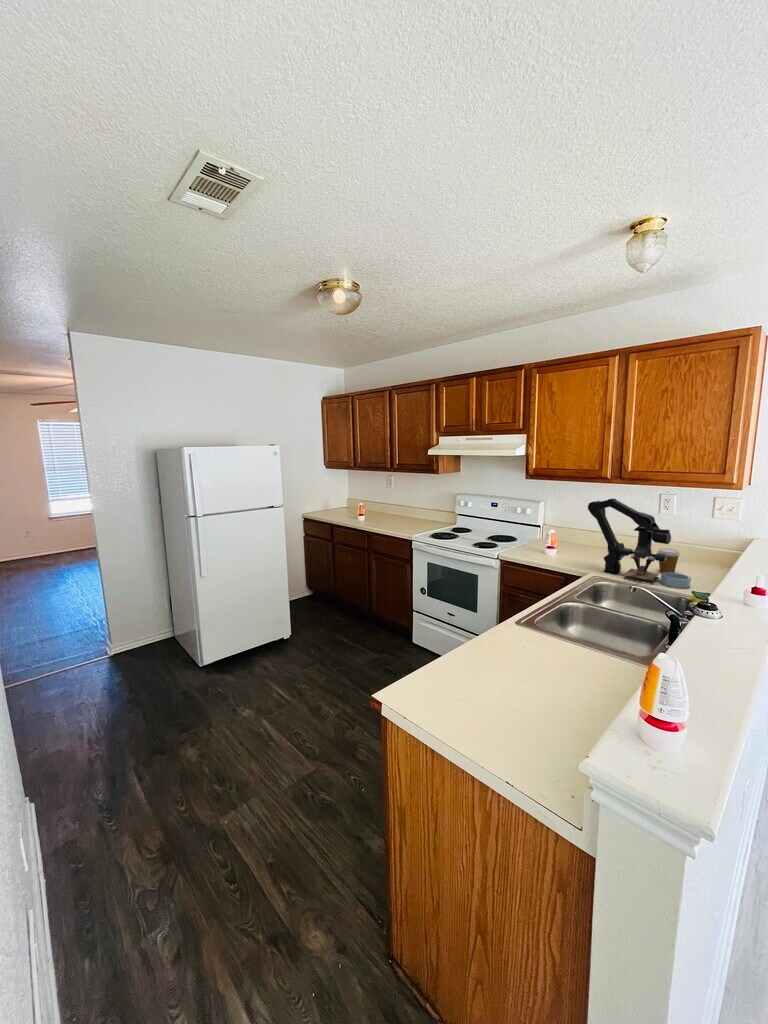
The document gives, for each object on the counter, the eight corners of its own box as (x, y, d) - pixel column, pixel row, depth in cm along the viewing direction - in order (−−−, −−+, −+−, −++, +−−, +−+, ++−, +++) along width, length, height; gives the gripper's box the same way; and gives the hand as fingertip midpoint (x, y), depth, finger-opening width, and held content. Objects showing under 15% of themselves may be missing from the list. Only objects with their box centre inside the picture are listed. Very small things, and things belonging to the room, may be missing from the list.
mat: (623, 578, 208) (623, 577, 208) (630, 573, 217) (630, 572, 217) (653, 584, 199) (653, 583, 199) (659, 578, 208) (659, 577, 208)
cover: (624, 575, 208) (625, 567, 207) (631, 570, 216) (632, 562, 215) (652, 580, 199) (653, 572, 199) (658, 575, 208) (659, 567, 207)
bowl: (658, 584, 198) (659, 575, 198) (664, 580, 206) (665, 571, 205) (686, 590, 191) (687, 581, 190) (691, 585, 198) (692, 576, 197)
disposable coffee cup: (681, 576, 212) (683, 553, 210) (660, 575, 214) (662, 552, 212) (672, 570, 221) (674, 548, 219) (652, 569, 223) (654, 547, 221)
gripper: (618, 540, 206) (616, 571, 208) (663, 546, 193) (660, 579, 195) (625, 537, 214) (622, 566, 216) (668, 542, 201) (665, 573, 203)
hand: (641, 571), depth 207 cm, fingers closed on cover, 2 cm apart
